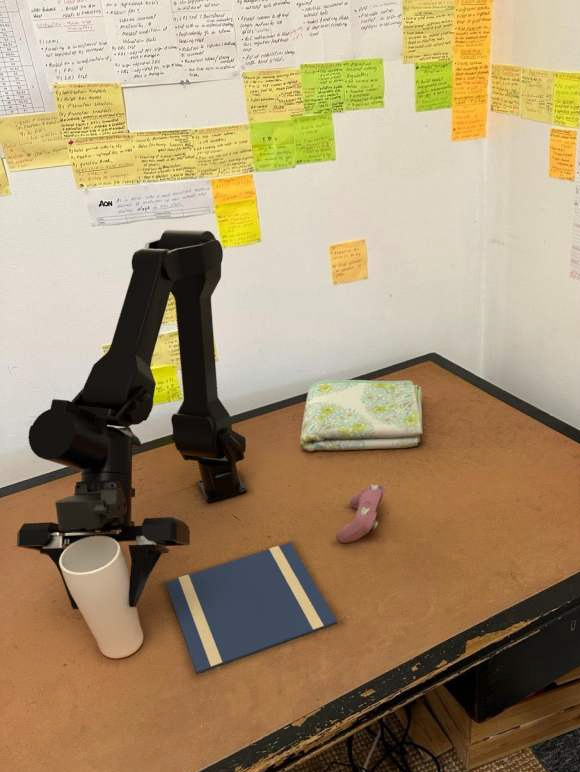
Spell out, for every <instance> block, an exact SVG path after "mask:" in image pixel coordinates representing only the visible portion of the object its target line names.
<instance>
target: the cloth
mask: <svg viewBox="0 0 580 772" xmlns="http://www.w3.org/2000/svg"><path fill="white" fill-rule="evenodd" d="M165 586H166V589H167V592H168V594H169V598H170V600H171V604H172V606H173V609H174V612H175V615H176V618H177V620H178V623H179V626H180V630H181V632H182V636H183V638H184V641H185V644H186V647H187V650H188V653H189V655H190V656H189V657H190V659H191V661H192V664H193V667H194V670H195V674H196V675H199V674H202V673H204V672H207V671H210V670H212V669H215V668H218V667H221V666H223V665H226V664H229V663H232V662H234V661H237V660H240V659H242V658H245V657H248V656H251V655H254V654H256V653H259V652H262V651H265V650H267V649H270V648H273V647H276V646H279V645H281V644H285V643H287V642H289V641H292V640H295V639H298V638H301V637H303V636H306V635H309V634H312V633H314V632H318V631H320V630H323V629H325V628H328V627H331V626H335V625H336V624H338V620H337V619H336V617H335V615H334V613H333V612H332V610H331V608H330V606H329V605H328V603H327V602H326V600H325V598H324V597H323V595H322V593H321V592H320V590H319V588H318V586H317V584H316V583H315V581H314V579H313V578H312V577H311V574H310V573H309V572H308V570H307V568H306V566H305V565H304V563H303V561H302V560H301V557H300V556H299V555H298V553H297V551H296V549H295V548H294V546H293V544H292V543H291V542H287V543H284V544H280V545H276V546H273V547H269V548H268V549H265V550H262V551H259V552H256V553H252V554H249V555H246V556H243V557H240V558H237V559H233V560H231V561H227V562H225V563H221V564H218V565H215V566H212V567H209V568H206V569H203V570H199V571H197V572H193V573H190V574H185V575H182V576H179V577H177V578H174V579H171V580H168V581H165Z"/></svg>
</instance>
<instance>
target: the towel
mask: <svg viewBox="0 0 580 772" xmlns="http://www.w3.org/2000/svg"><path fill="white" fill-rule="evenodd" d="M422 397H423V387H422V386H419V385H418V384H414V382H413V380H409V379H408V380H407V379H405V380H368V379H324V380H318V381H316V382H314V383H311V384H310V385H309V388H308V390H307V396H306V400H305V406H304V411H303V417H302V423H301V430H300V438H299V445H300V447H301V448H303V450H306V451H308V452H315V451H352V450H353V451H356V450H357V451H359V450H361V451H362V450H365V451H366V450H386V449H387V450H388V449H389V450H390V449H406V448H414V447H418V444H420V443H421V436H423V409H422V408H423V407H422V399H423V398H422Z"/></svg>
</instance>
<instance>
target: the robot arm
mask: <svg viewBox="0 0 580 772" xmlns="http://www.w3.org/2000/svg"><path fill="white" fill-rule="evenodd" d="M223 259H224V250H223V245H222V244H221V241H220V240H218V239H217V238H216V236H215V235H214V233H212V232H211V230H201V229H200V230H199V229H198V230H197V229H196V230H194V229H192V230H191V229H166V230H164V231H163V232H162V233H161V236H160V238H156V239H154V240H150V241H148V242H146V243H144V248H140V249H138V250H135V252H133V254H132V257H131V269H132V272H131V276H130V278H129V283H128V286H127V288H126V289H127V290H126V293H125V296H124V300H123V302H122V306H121V309H120V313H119V316H118V320H117V323H116V327H115V330H114V333H113V337H112V340H111V343H110V346H109V347H108V350H107V352H106V353H105V354H104V355H102V356H101V358H99V359H98V360H97V361H96V362H94V364H93V365H92V367H91V370H90V371H89V373H88V376H87V378H86V381H85V383H84V385H83V388H82V389H81V390H80V391H79V392H78V393H77V394H76V395H75V397H74V398H73V399H72V400H71V401H70V400H67V399H59V398H58V399H57V398H53V399H52V400H51V404H50V408H49V409H47V410H45V411H43V412H42V413H41V414H39V415H37V417H36V419H35V420H34V421H33V423H32V425H30V426H29V429H28V437H27V439H28V444H29V447H30V449H31V451H32V452H33V454H34V455H35V456H37V457H38V458H40V459H43V460H46V461H49V462H52V463H55V464H58V465H62V466H65V467H68V468H71V469H75V470H79V471H80V481H75V486H74V492H73V495H68V496H66V497H63V498H61V499H59V500H56V501H55V502H54V504H55V511H56V518H57V523H56V522H52V521H50V522H23V524H22V525H21V527H19V529H18V531H17V533H16V547H17V548H21V549H26V550H31V551H36V552H39V554H40V555H44V556H48V557H49V558H50V559H51V561H52V562H53V563H54V565H55V567H56V568H57V570H58V572H59V574H60V577H61V580H62V582H63V585H64V588H65V591H66V594H67V597H68V599H69V602H70V606H71V608H72V610H79V608H78V606H77V605H76V603H75V601H74V599H73V597H72V595H71V593H70V591H69V589H68V587H67V584H66V582H65V579H64V577H63V574H62V571H61V567H60V564H59V559H60V556H61V554H62V553H63V551H64V550H65V549H66V548H67V547H68V546H70V545H71V544H72V543H74V542H76V541H78V540H80V539H83V538H86V537H90V536H108V537H111V538H113V539H115V540H116V541H117V542H118V543H122V542H123V543H124V542H127V543H128V542H135V543H136V544H128V551H129V556H130V571H129V574H130V584H129V606H130V607H136V608H137V605H138V603H139V601H140V599H141V596H142V594H143V592H144V589H145V587H146V584H147V582H148V579H150V576H151V573H152V572H153V569H154V568H155V566H156V565H157V563H158V562H159V560H160V558H161V556H162V555H163V554H164V555H165V554H169V553H170V548H167V547H183V546H190V545H191V531H190V528H189V525H188V524H187V523H186V522H185V521H183V520H181V519H178V518H175V517H173V516H168V517H166V516H165V517H146V518H145V517H144V519H143V521H142V523H141V525H136V522H135V521H134V520H132V498H136V488H134V487H133V486H132V485H133V448H139V447H141V446H142V442H141V440H140V438H139V437H138V436H137V435H135V433H134V432H133V430H132V429H131V426H137V425H140V424H142V422H145V421H147V420H148V418H149V417H150V416H151V415H150V414H151V413H152V411H153V408H154V397H155V391H156V384H157V383H156V380H155V377H154V374H153V371H152V366H151V365H152V360H153V356H154V352H155V349H156V345H157V343H158V342H157V341H158V338H159V334H160V330H161V328H162V325H163V320H164V317H165V313H166V311H167V310H166V309H167V306H168V303H169V299H170V295H172V297H173V298H174V304H175V305H174V306H175V315H176V316H175V317H176V327H177V337H178V348H179V349H178V351H179V362H180V363H179V364H180V374H181V385H182V398H183V400H182V403H181V404H180V407H179V408H178V410H177V412H176V413H173V414H172V415H171V419H170V422H171V426H172V439H171V440H172V442H173V443H174V447H175V449H176V450H177V451H178V452H179V454H180V455H181V457H182V458H183V460H184V461H194V462H197V465H198V469H199V474H200V477H201V479H199V480H198V481H197V484H198V487H199V489H200V491H201V493H202V495H203V497H204V500H205V502H206V503H208V504H211V503H215V502H217V501H222V500H224V499H228V498H232V497H235V496H238V495H242V494H245V493H247V491H248V489H247V487H246V485H245V483H244V482H243V480H242V478H241V476H240V474H239V472H238V467H237V463H238V462H240V461H243V460H244V459H245V453H246V450H247V449H246V448H247V444H246V440H247V439H246V437H245V436H243V435H242V434H240V433H238V432H236V431H235V430H233V427H232V426H233V425H232V420H231V415H230V413H229V412H228V410H227V409H226V407H225V406H224V404H223V403H222V401H221V400H220V399H219V394H218V393H219V392H218V382H217V381H218V380H217V367H216V365H217V363H216V351H215V337H214V323H213V309H212V308H213V307H212V297H213V296H212V295H213V294H214V292H215V290H216V288H217V286H218V284H219V282H220V280H221V278H222V263H223Z"/></svg>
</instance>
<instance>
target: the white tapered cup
mask: <svg viewBox="0 0 580 772" xmlns="http://www.w3.org/2000/svg"><path fill="white" fill-rule="evenodd" d="M59 564H60V567H61V571H62V574H63V577H64V579H65V582H66V584H67V587H68V589H69V591H70V593H71V595H72V597H73V599H74V601H75V603H76V605H77V606H78V608H79V609H78V610H79V612H80V614H81V615H82V617H83V619H84V621H85V623H86V625H87V626H88V628H89V630H90V632H91V633H92V636H93V637H94V640H95V641H96V645H97V646H98V649H99V651H100V652H101V654H102V655H103V656H105V657H107V658H109V659H124V658H126V657H129V656H131V655H133V654H134V653H136V652H137V651H138V650H139V649H140V648H141V646H142V644H143V642H144V632H143V629H142V626H141V622H140V618H139V612H138V608H137V606H136V607H130V606H129V584H130V571H129V570H130V569H129V567H128V563H127V561H126V557H125V555H124V553H123V550H122V548H121V545H120V542H117V541H116V540H115V539H113V538H111V537H108V536H90V537H86V538H83V539H80V540H78V541H76V542H74V543H72V544H71V545H70V546H68V547H67V548H66V549H65V550H64V551H63V553H62V554H61V556H60V559H59Z"/></svg>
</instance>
